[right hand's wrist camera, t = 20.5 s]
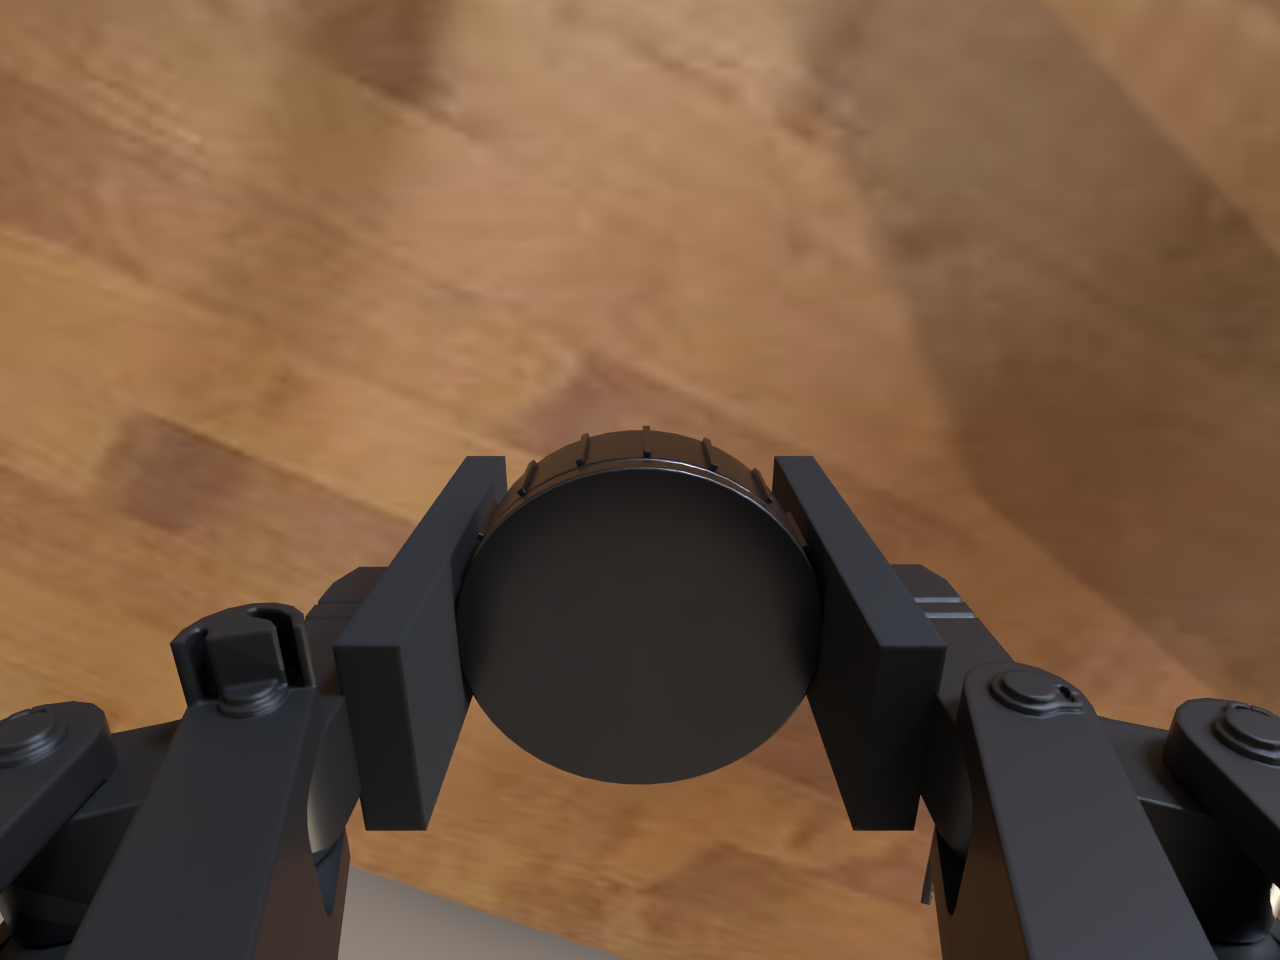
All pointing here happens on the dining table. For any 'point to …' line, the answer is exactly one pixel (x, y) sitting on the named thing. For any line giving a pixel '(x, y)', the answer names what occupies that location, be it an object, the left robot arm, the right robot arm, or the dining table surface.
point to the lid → (639, 610)
